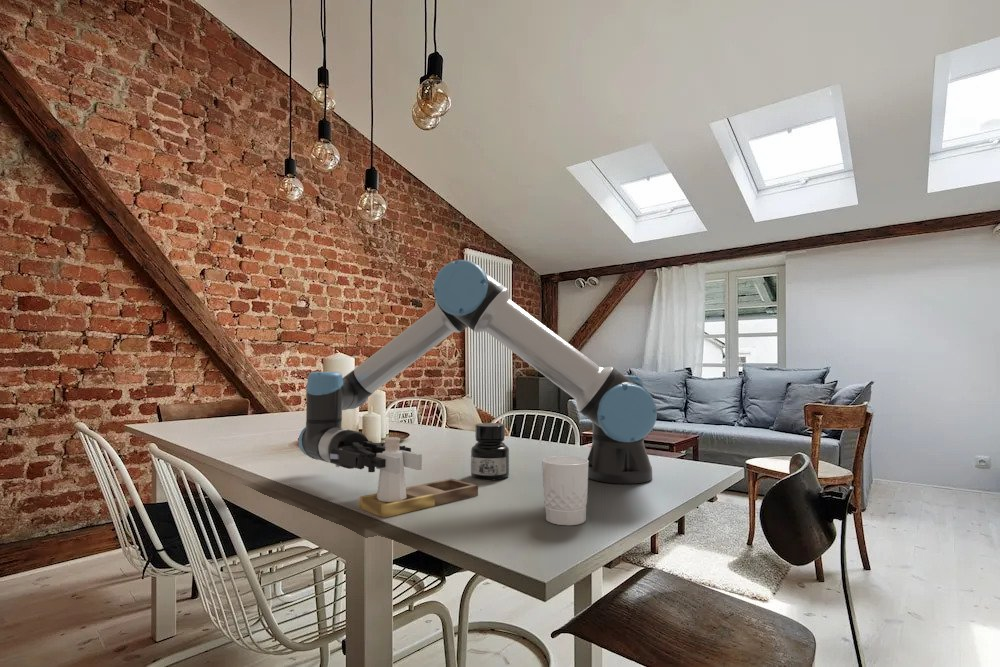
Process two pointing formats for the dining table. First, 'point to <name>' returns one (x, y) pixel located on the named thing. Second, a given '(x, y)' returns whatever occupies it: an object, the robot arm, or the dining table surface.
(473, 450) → the ink bottle
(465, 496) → the rail
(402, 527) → the dining table surface
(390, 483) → the pepper shaker
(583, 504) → the white cup
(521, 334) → the robot arm
